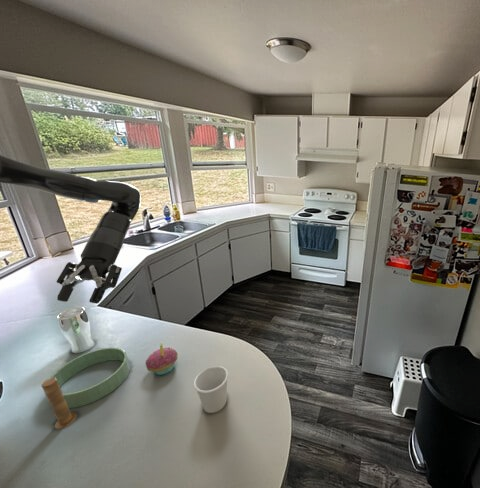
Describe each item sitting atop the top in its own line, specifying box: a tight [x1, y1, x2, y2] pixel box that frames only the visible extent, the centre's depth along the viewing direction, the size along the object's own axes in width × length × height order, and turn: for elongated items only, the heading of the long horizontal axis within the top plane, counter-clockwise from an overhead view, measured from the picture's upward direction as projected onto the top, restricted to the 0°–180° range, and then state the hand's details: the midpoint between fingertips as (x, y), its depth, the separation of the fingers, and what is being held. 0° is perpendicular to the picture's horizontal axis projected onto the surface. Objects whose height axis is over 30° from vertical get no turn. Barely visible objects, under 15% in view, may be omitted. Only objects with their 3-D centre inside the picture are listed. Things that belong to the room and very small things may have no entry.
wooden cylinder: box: [41, 377, 78, 430], centre depth 61 cm, size 4×4×14 cm
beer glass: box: [56, 306, 95, 354], centre depth 85 cm, size 7×7×15 cm
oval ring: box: [49, 347, 131, 409], centre depth 74 cm, size 17×17×6 cm
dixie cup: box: [193, 365, 229, 414], centre depth 68 cm, size 8×8×10 cm
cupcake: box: [145, 343, 179, 376], centre depth 78 cm, size 9×8×12 cm
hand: (77, 302), depth 65 cm, fingers open, 8 cm apart
